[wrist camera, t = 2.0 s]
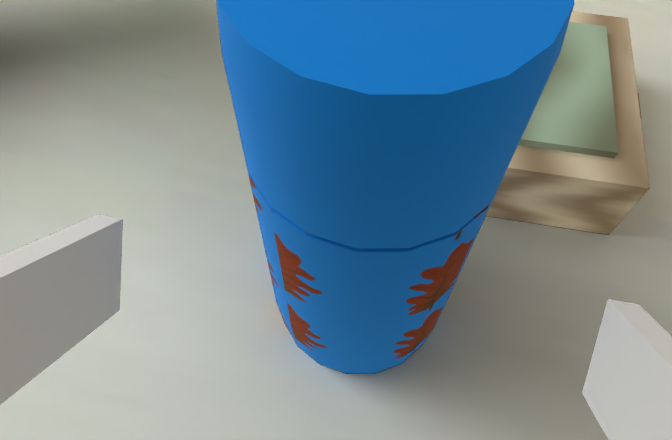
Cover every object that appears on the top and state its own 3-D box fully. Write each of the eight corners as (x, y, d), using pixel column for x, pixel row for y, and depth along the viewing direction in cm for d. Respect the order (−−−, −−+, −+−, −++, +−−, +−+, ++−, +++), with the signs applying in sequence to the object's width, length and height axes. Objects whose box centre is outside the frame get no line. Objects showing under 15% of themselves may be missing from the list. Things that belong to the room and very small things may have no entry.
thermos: (431, 227, 41) (542, -136, 19) (447, 376, 35) (628, 99, 14) (280, 228, 41) (223, -136, 19) (273, 377, 35) (183, 101, 14)
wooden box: (388, 200, 42) (397, 145, 36) (411, 51, 50) (422, -14, 44) (617, 235, 40) (664, 184, 35) (603, 76, 49) (639, 12, 43)
